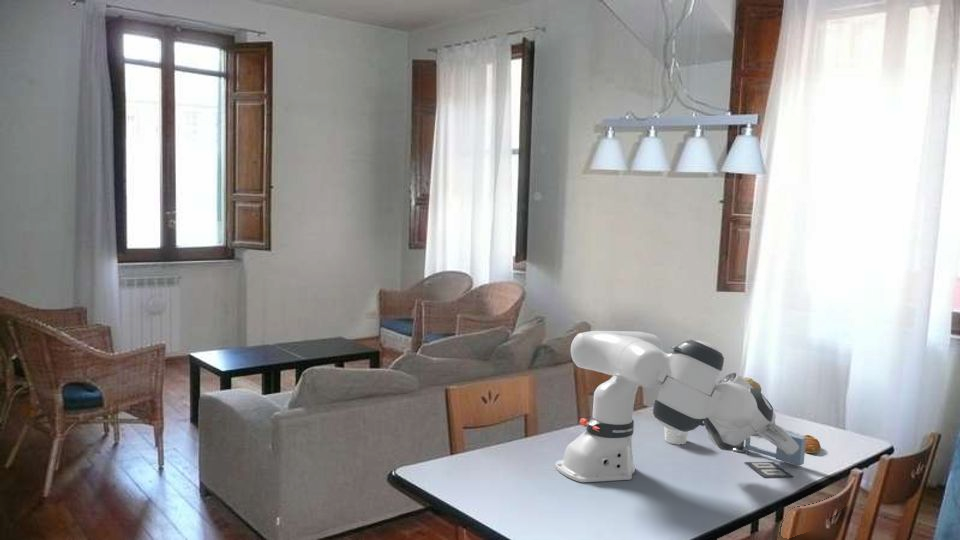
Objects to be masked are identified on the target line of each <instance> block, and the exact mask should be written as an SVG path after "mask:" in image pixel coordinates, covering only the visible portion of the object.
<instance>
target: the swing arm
mask: <svg viewBox="0 0 960 540" xmlns="http://www.w3.org/2000/svg"><path fill="white" fill-rule="evenodd" d="M786 432H787V433H788V434H789V435H790V436H791V438H792V439H793V440H794V441H795V442H796V443H797V444H798V445H799V449H798V450H797V451H796V452H795V453H794V454H793V455H787V454H786V453H784V452H782V451H781V450H780V449H779V448H778V447H777V446H776V451H775V452H774V451H771V450H768V449H764V448H760V447H757V446H753V445H751V437H752V436H750V437H749V438H747V439H746V440H745V442H744V447H745V449H747V450H748V451H751V452H754V453H757V454H761V455H764V456H767V457H770V458H775V460H778V461H779V462H780V461H781V462H785V463H788V464H791V465H794V466H798V467H801V466H802V465H804V463H805V454H806V453H805V445H806V437H804V435H799V434H795V433H791V432H788V431H786Z"/></svg>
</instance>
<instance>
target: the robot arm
mask: <svg viewBox="0 0 960 540" xmlns="http://www.w3.org/2000/svg"><path fill="white" fill-rule="evenodd" d="M663 347H664V346H663V344H662V342H661V340H660V338H659V337H658V336H657V335H656V334H653V333H652V334H651V333H648V332H645V331H635V330H633V331H632V330H631V331H627V330H626V331H625V330H622V331H621V330H590V331H584V332H580V333H577V334H576V336H574V338H573V339H572V342H571V344H570V356H571V359H572V361H573V363H574V364H575V365H576V366H577V367H578V368H580V369H584V370H585V369H586V370H589V371H595V372H598V373H601V374H605V375H609V376H612V377H610V379H608V380H606V381H604V382H603V383H600V384H599V385H598V386H597V387H596V388H595V391H594V392H593V401H592V402H593V404H592V405H593V406H592V415H591V416H590V418H589V420H588V419H586V418H584V417H582V418H580V420H579V424H580V426H583V427H585V429H586V430H585V431H583V433H581V434H580V435H579V436H577V437H576V438H575V439H574V440H572V441H571V442H570V443H568V444H567V446H566V447H565V451H564V456H563V459H561V460H556V461H555V465H554V466H555V469H556V470H557V471H558V472H559V473H561V474H562V475H564V476H565V477H567V478H568V479H571V480H572V481H573V480H574V481H576V482H580V483H593V482H598V483H599V482H610V481H611V482H612V481H626V480H628V481H629V480H632V479H633V474H634V473H635V472H636V468H635V463H634V456H633V441H632V440H633V439H632V438H633V435H634V429H635V428H634V427H635V421H634V419H633V415H634V407H635V400H636V396H637V395H636V394H637V392H638V389H639V387H643V388H656V387H659V386H660V389H659V391H658V392H659V393H658V395H657V399H655V400H654V403H653V404H654V405H653V409H652V414H653V416H654V418H655V419H657V421H658V422H659V423H660V424H661V425H662V426H665V427H667V428H669V429H671V430H674V431H683V432H687V431H688V432H690V431H694V430H696V429H697V428H698V427H700V426H701V427H705V430H706V434H707V436H708V439H710V441H711V442H712V444H714V446H716V447H717V448H719V450H722V451H726V452H727V451H728V452H731V451H732V450H733V449H734V448H735V447H736V446H738V445H739V444H740V443H741V442H743V441H744V442H745V441H746V439H747V438H749V437H752V436H753V435H758V436H760V437H762V438H763V439H765V440H766V441H768V442H769V443H770V444H772V445H774V446H775V447H776V448H777V447H778V448H779V449H780V450H781V451H782V452H784V453H786V454H787V455H793V454H794V453H795V452H796V451H797V450H798V449H799V445H798V444H797V443H796V442H795V441H794V440H793V439H792V438H791V436H790V435H789V434H788V433H787V432H788V431H786V430H784V429H783V428H782V427H780V426H779V425H777V424H776V417H777V416H776V413H775V412H774V408H773V406H772V404H771V403H770V402H769V400H768V399H767V398H766V397H765V396H764V394H763V393H762V391H761V392H760V391H759V390H757V389H754V388H753V387H752V386H751V385H750V384H749V383H748V382H747V381H746V380H745V379H744V378H745V377H743V376H742V375H740V374H739V373H737V372H733V373H729V374H727V375H725V376H724V377H723V378H721V379H720V380H719V381H718V378H719V375H720V372H721V371H723V366H724V363H725V362H724V361H725V357H724V355H723V353H722V352H720V351H719V349H718V348H716V346H714V345H713V344H712V343H710V342H707V341H704V340H697V339H696V340H693V339H690V340H685V341H682V342H680V343H679V344H678V345H676V346H675V345H672V346H671V347H670V348H671V349H673V350H672V351H670V353H668V352H665V351H664V348H663ZM717 381H718V383H717Z"/></svg>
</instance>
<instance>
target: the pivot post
mask: <svg viewBox="0 0 960 540" xmlns="http://www.w3.org/2000/svg"><path fill="white" fill-rule="evenodd" d="M731 451H732V452H735V453H740V454H745V453H746V452H747V453H749V450H747V449H745V440H744V441H743V442H741V443H740V444H739V445H738V446H736V447H735V448H734V449H733V450H731Z"/></svg>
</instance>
